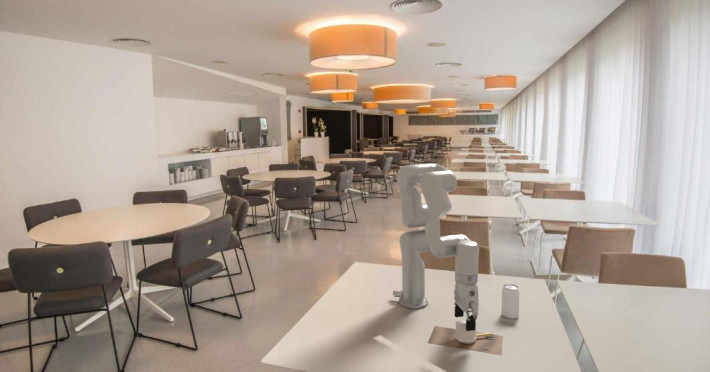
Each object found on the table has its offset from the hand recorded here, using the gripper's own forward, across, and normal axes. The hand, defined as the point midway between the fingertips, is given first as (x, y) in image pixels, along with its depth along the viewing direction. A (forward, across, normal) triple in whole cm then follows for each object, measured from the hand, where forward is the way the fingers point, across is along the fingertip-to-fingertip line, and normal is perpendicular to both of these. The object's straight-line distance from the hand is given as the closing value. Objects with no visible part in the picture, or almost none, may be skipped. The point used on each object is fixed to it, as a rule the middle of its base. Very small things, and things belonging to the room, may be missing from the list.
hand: (464, 323), depth 147 cm
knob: (+5, -1, -3) cm, 6 cm away
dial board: (+7, -1, 0) cm, 7 cm away
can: (+8, +16, -26) cm, 31 cm away
